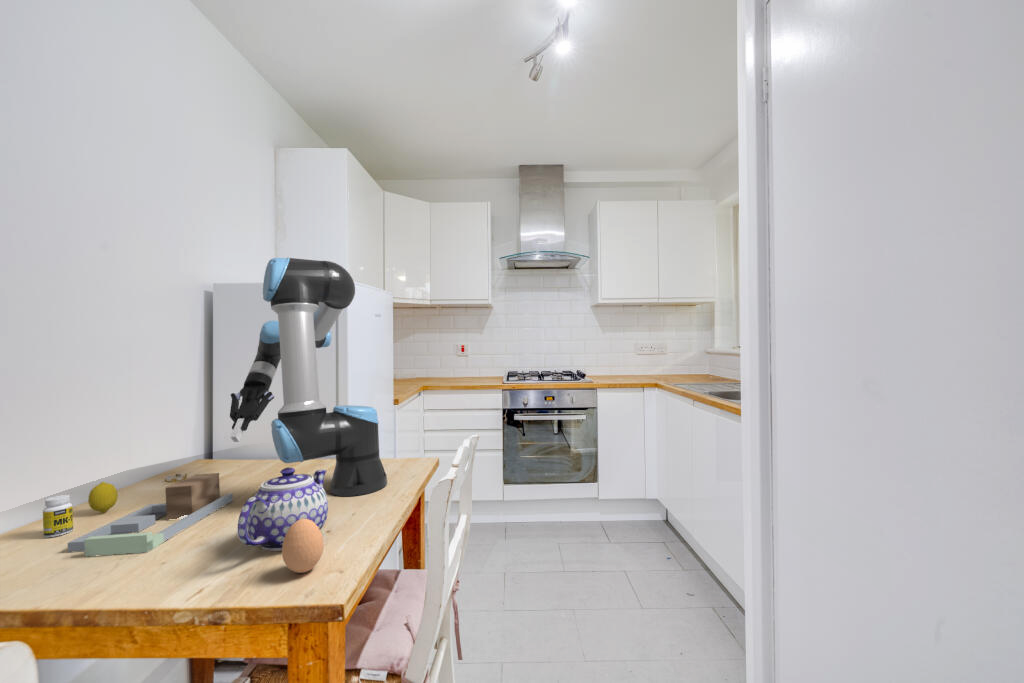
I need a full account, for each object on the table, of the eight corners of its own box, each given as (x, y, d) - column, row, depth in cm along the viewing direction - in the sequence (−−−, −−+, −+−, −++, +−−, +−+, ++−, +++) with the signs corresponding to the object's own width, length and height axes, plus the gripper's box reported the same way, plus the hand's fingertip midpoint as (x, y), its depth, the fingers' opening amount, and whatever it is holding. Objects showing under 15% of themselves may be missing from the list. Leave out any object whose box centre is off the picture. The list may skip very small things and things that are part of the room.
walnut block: (197, 504, 117) (195, 474, 117) (220, 502, 117) (218, 473, 117) (166, 520, 106) (165, 487, 106) (192, 519, 106) (191, 486, 106)
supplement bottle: (53, 538, 98) (52, 501, 98) (37, 538, 99) (36, 500, 99) (78, 529, 103) (77, 494, 103) (63, 529, 104) (61, 493, 104)
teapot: (274, 574, 77) (270, 489, 77) (204, 568, 80) (201, 486, 81) (357, 517, 101) (354, 453, 101) (301, 514, 105) (298, 452, 105)
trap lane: (163, 505, 117) (162, 492, 117) (232, 500, 118) (232, 487, 118) (53, 559, 87) (52, 541, 87) (147, 552, 88) (146, 535, 88)
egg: (309, 582, 74) (306, 527, 74) (274, 580, 75) (271, 527, 75) (332, 562, 80) (329, 512, 80) (299, 561, 81) (297, 512, 81)
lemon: (114, 507, 117) (113, 477, 117) (120, 511, 114) (119, 480, 114) (86, 514, 113) (85, 483, 113) (91, 518, 110) (90, 486, 110)
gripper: (283, 384, 150) (262, 444, 134) (244, 385, 149) (217, 447, 133) (276, 370, 145) (252, 431, 128) (235, 371, 144) (205, 433, 127)
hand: (234, 439), depth 130 cm, fingers closed
